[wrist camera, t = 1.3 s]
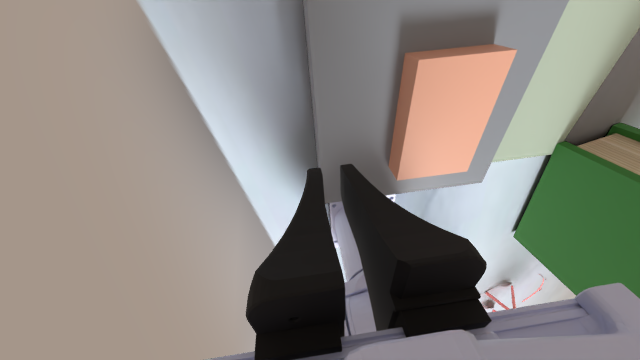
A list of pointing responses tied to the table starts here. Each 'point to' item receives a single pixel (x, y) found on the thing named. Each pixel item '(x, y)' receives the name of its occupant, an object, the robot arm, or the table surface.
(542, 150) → the sage mat
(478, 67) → the terracotta tile
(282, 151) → the table surface
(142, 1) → the table surface
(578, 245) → the hardback book
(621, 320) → the robot arm
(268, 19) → the table surface
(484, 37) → the block
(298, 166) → the table surface
